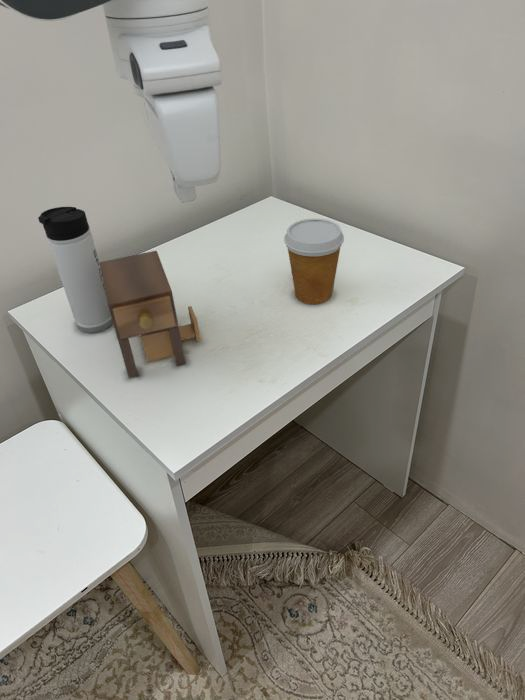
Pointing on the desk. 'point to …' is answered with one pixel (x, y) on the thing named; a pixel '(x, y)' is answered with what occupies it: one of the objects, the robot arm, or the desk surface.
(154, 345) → the wooden drawer
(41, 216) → the travel mug
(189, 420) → the desk surface
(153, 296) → the drawer unit
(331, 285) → the disposable coffee cup
